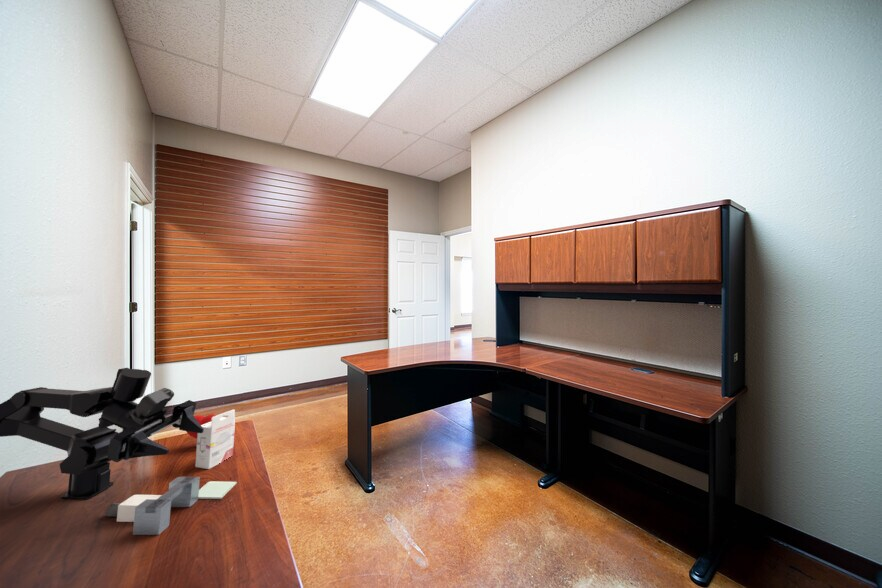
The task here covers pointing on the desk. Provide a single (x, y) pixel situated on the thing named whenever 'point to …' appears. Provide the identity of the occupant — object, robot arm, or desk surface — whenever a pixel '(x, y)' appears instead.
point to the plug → (128, 507)
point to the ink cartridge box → (216, 440)
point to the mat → (215, 489)
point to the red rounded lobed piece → (201, 423)
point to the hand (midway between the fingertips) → (186, 441)
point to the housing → (165, 506)
